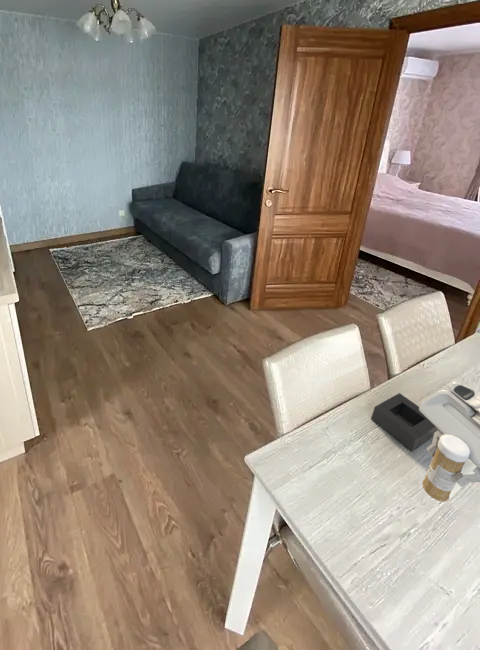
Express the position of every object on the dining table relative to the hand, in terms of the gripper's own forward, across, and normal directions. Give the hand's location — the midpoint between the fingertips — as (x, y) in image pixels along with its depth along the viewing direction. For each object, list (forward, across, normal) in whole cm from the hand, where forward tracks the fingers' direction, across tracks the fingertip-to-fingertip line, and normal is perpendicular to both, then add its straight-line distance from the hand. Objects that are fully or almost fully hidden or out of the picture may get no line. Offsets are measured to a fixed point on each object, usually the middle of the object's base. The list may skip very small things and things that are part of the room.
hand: (442, 467), depth 66 cm
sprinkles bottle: (+5, 0, -6) cm, 7 cm away
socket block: (+2, +20, -21) cm, 29 cm away
